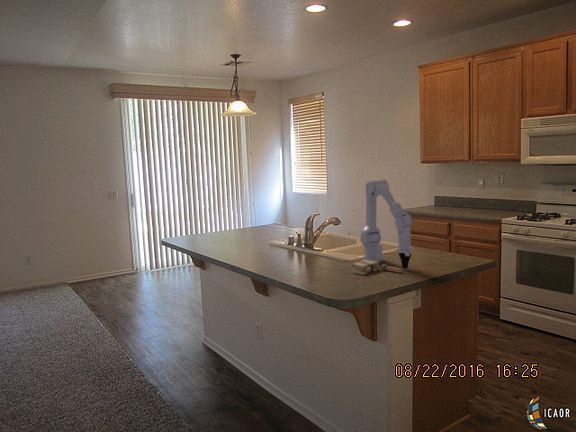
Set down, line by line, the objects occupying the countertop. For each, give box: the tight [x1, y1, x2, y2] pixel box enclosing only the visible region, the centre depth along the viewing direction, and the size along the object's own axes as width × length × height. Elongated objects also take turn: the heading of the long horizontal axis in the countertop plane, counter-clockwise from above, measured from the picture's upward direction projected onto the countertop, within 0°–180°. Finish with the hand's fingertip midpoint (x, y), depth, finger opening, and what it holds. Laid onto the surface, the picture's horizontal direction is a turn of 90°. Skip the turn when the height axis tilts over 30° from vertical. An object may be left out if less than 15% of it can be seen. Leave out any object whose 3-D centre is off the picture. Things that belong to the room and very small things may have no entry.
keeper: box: [381, 263, 403, 273], centre depth 230 cm, size 11×3×2 cm, turn 41°
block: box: [351, 260, 380, 276], centre depth 233 cm, size 12×7×4 cm, turn 131°
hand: (405, 267), depth 231 cm, fingers closed
